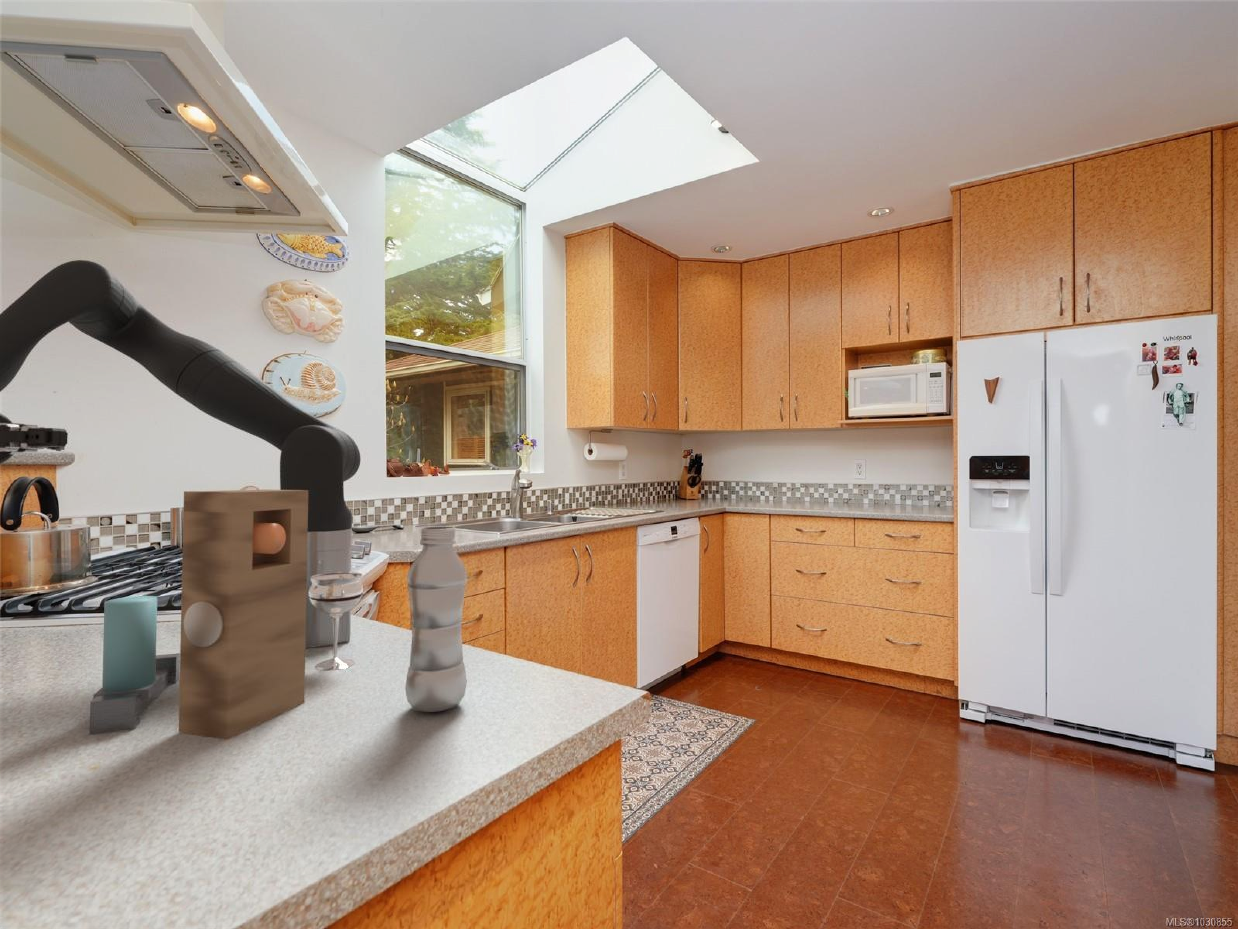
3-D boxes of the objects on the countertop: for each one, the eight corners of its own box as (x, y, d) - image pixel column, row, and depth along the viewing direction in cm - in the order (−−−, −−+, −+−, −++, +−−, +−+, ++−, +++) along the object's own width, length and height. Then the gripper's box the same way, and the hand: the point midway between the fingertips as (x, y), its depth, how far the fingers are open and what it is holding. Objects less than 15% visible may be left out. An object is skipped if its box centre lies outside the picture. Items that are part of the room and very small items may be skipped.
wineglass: (334, 654, 86) (336, 570, 87) (373, 660, 84) (374, 573, 84) (295, 669, 80) (296, 578, 80) (335, 675, 78) (336, 581, 78)
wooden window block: (174, 734, 60) (180, 491, 60) (260, 697, 70) (264, 489, 70) (223, 741, 58) (229, 492, 59) (304, 702, 68) (308, 490, 69)
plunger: (206, 553, 64) (207, 522, 64) (232, 549, 67) (233, 520, 67) (261, 555, 62) (261, 524, 62) (285, 551, 65) (286, 522, 65)
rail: (179, 678, 76) (180, 653, 76) (134, 729, 61) (135, 697, 61) (144, 682, 74) (144, 656, 74) (89, 734, 59) (90, 702, 60)
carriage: (162, 684, 67) (164, 594, 68) (148, 698, 63) (150, 602, 63) (110, 689, 66) (112, 597, 66) (93, 704, 61) (95, 606, 62)
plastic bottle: (477, 701, 69) (480, 526, 70) (442, 724, 63) (445, 531, 63) (430, 694, 71) (433, 524, 72) (391, 715, 65) (394, 529, 65)
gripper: (-114, 402, 71) (-8, 399, 66) (22, 414, 83) (118, 412, 79) (-116, 466, 71) (-10, 467, 66) (20, 468, 83) (116, 469, 79)
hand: (59, 437), depth 73 cm, fingers closed
